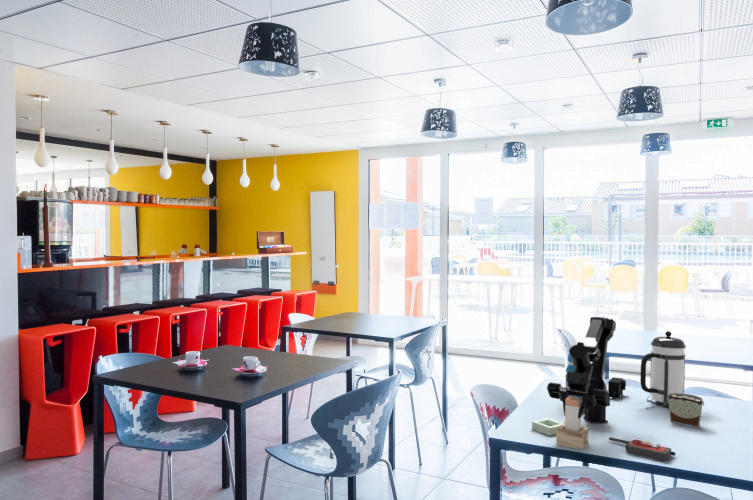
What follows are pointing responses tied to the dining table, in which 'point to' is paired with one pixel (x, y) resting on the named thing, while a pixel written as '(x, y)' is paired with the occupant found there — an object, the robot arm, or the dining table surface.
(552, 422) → the tray
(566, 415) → the plug
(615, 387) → the digital camera
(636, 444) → the walkie-talkie
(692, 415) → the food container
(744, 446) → the dining table surface
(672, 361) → the coffee press
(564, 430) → the box
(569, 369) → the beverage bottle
